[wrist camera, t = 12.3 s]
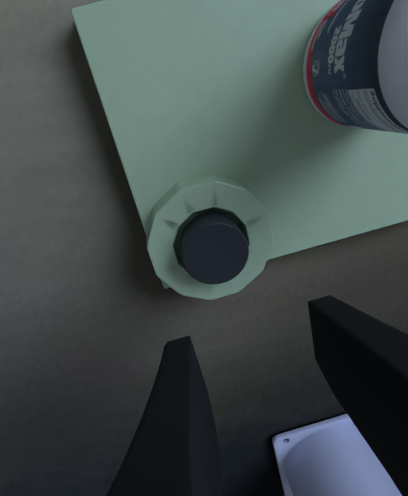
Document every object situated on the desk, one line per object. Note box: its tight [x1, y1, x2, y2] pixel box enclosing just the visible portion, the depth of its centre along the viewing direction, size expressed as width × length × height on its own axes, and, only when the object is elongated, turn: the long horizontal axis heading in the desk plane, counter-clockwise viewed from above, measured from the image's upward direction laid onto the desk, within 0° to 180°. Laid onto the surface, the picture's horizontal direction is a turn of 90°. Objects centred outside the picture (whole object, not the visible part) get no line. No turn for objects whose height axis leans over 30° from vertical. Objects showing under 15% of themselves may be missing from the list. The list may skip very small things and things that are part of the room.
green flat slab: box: [71, 0, 408, 300], centre depth 16 cm, size 16×13×3 cm
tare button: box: [180, 213, 249, 284], centre depth 15 cm, size 3×3×2 cm
